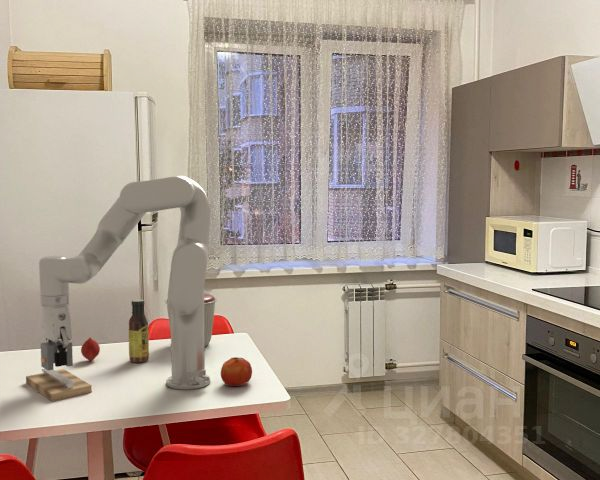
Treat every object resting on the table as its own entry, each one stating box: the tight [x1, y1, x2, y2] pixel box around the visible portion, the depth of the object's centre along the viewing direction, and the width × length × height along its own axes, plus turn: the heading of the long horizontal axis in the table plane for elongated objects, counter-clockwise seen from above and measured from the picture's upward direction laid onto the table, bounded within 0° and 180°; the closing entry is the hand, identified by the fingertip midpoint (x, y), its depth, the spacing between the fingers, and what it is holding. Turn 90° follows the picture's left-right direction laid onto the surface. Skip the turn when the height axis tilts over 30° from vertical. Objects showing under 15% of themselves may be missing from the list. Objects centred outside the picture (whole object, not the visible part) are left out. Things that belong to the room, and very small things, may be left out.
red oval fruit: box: [80, 336, 101, 362], centre depth 211 cm, size 6×6×8 cm
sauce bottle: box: [128, 299, 150, 363], centre depth 210 cm, size 6×6×20 cm
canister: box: [164, 292, 218, 347], centre depth 229 cm, size 18×18×21 cm
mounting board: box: [25, 368, 92, 402], centre depth 185 cm, size 20×11×2 cm, turn 41°
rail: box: [41, 368, 75, 389], centre depth 185 cm, size 18×2×2 cm, turn 41°
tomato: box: [220, 357, 253, 387], centre depth 188 cm, size 9×9×8 cm
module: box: [40, 339, 74, 370], centre depth 184 cm, size 5×8×7 cm, turn 132°
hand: (57, 362), depth 184 cm, fingers closed on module, 5 cm apart
